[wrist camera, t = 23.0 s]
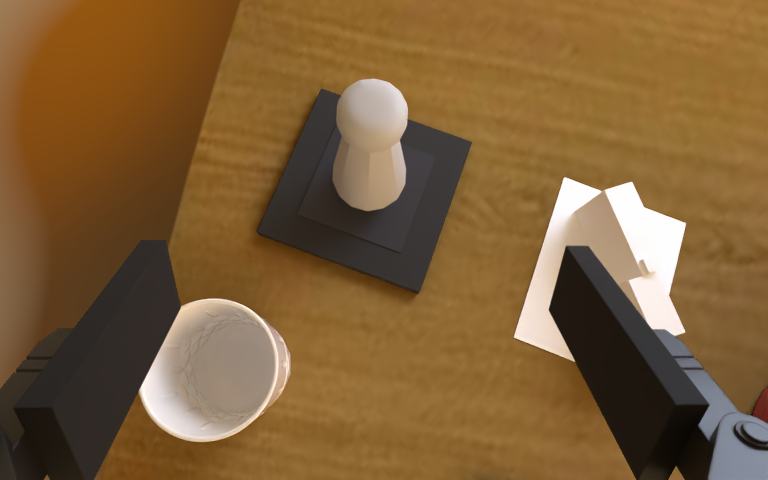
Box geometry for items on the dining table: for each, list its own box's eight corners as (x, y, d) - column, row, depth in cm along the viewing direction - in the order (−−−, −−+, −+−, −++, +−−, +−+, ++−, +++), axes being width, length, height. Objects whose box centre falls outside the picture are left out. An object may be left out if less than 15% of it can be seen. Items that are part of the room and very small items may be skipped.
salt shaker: (410, 164, 41) (434, 75, 28) (393, 226, 40) (410, 162, 27) (344, 145, 41) (338, 49, 29) (324, 207, 40) (309, 135, 27)
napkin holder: (561, 176, 42) (592, 148, 37) (686, 221, 42) (736, 200, 36) (512, 339, 39) (538, 335, 33) (649, 391, 38) (698, 396, 33)
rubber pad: (258, 234, 40) (256, 231, 39) (322, 93, 43) (321, 87, 42) (418, 293, 39) (419, 292, 38) (469, 145, 43) (472, 141, 42)
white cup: (182, 410, 36) (118, 428, 26) (210, 306, 38) (159, 287, 28) (286, 429, 36) (259, 454, 26) (308, 324, 38) (291, 311, 28)
